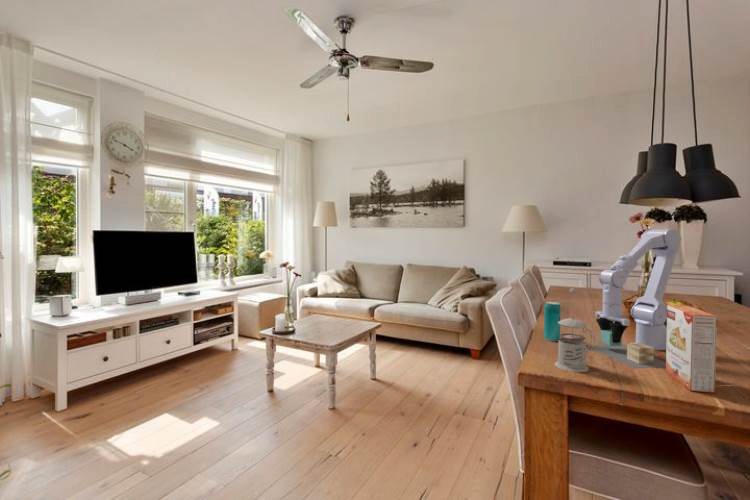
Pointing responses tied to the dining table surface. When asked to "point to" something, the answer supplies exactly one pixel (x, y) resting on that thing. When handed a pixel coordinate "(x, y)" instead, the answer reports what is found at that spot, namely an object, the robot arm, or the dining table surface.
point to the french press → (572, 346)
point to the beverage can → (552, 321)
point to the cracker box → (691, 347)
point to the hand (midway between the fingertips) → (611, 340)
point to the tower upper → (640, 349)
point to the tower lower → (640, 358)
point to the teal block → (608, 338)
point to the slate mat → (625, 356)
